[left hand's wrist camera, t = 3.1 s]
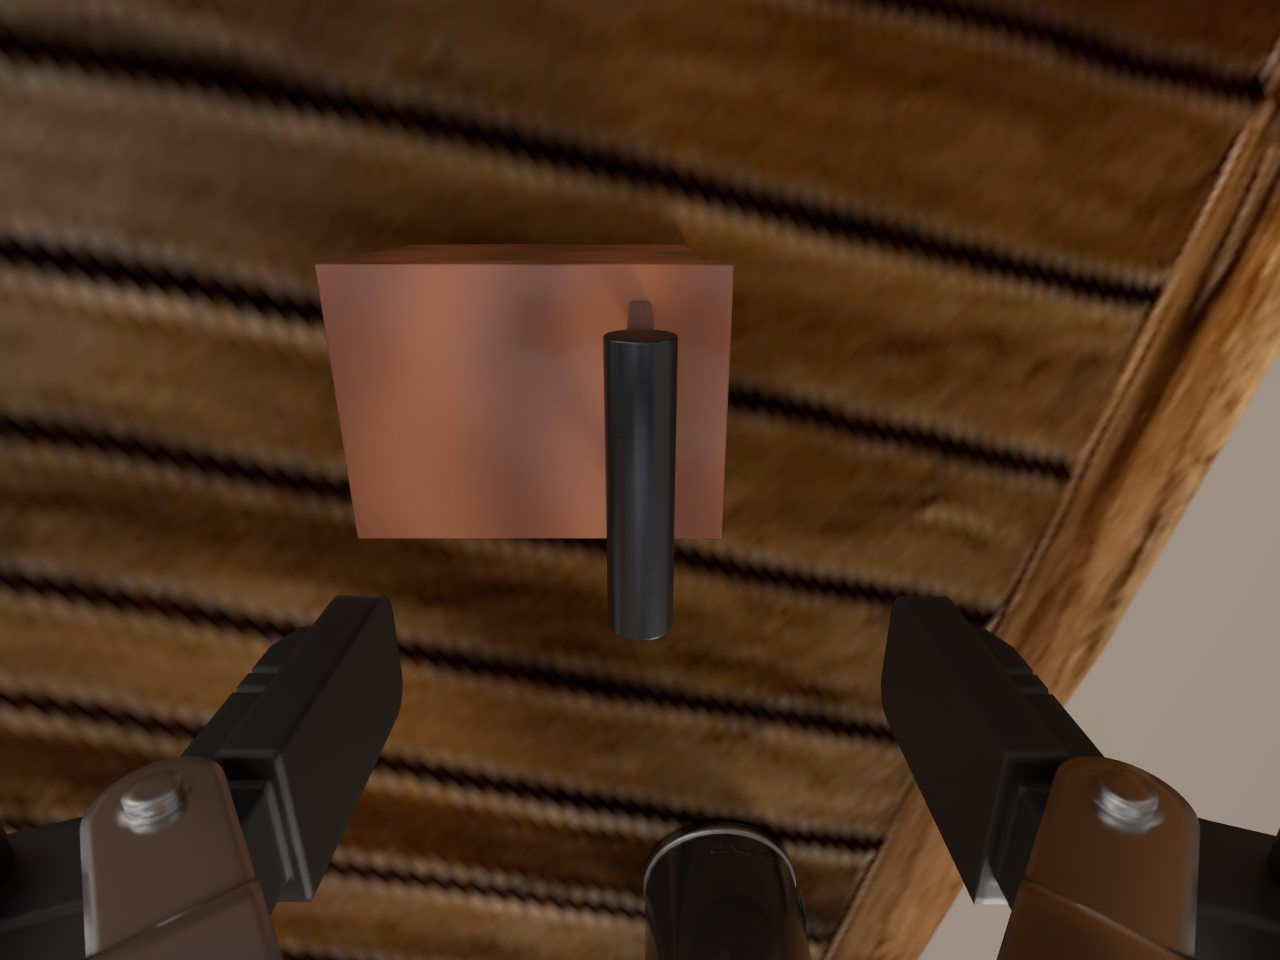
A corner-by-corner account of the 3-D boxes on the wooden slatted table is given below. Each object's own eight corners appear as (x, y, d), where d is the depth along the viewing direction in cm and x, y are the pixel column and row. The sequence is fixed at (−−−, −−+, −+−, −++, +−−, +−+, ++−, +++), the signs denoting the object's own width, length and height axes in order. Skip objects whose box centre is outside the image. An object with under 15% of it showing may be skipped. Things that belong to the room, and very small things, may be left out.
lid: (729, 260, 24) (780, 296, 15) (718, 523, 27) (754, 673, 18) (330, 260, 24) (156, 296, 15) (369, 523, 27) (246, 673, 18)
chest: (688, 244, 32) (706, 260, 24) (684, 446, 35) (697, 523, 27) (411, 243, 32) (331, 260, 24) (433, 446, 35) (370, 523, 27)
